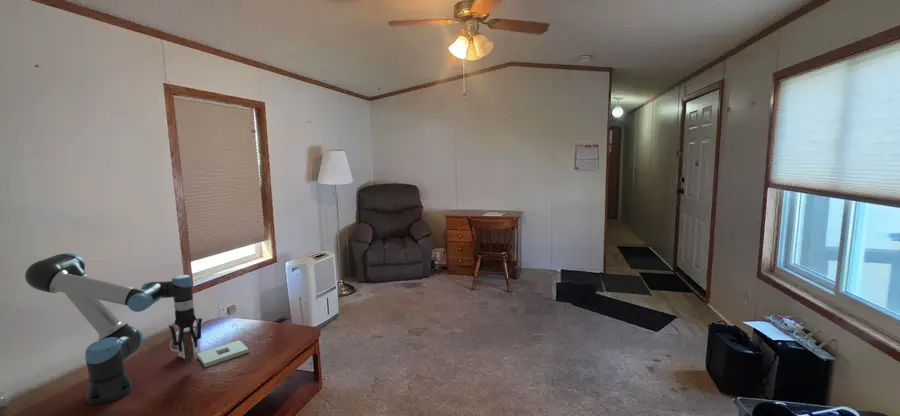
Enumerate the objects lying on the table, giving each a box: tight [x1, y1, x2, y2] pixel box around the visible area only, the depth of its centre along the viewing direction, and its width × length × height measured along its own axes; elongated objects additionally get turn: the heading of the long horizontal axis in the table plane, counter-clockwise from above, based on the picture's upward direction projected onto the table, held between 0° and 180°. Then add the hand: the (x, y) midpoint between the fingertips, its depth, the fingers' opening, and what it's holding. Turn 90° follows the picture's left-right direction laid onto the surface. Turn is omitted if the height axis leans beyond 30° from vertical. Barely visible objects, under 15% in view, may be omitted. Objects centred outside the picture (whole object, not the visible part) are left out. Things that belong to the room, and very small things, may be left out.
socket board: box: [196, 339, 250, 368], centre depth 208 cm, size 20×14×2 cm
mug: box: [169, 327, 198, 358], centre depth 209 cm, size 12×8×12 cm
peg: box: [183, 330, 194, 363], centre depth 192 cm, size 4×4×14 cm
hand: (188, 355), depth 193 cm, fingers closed on peg, 3 cm apart
